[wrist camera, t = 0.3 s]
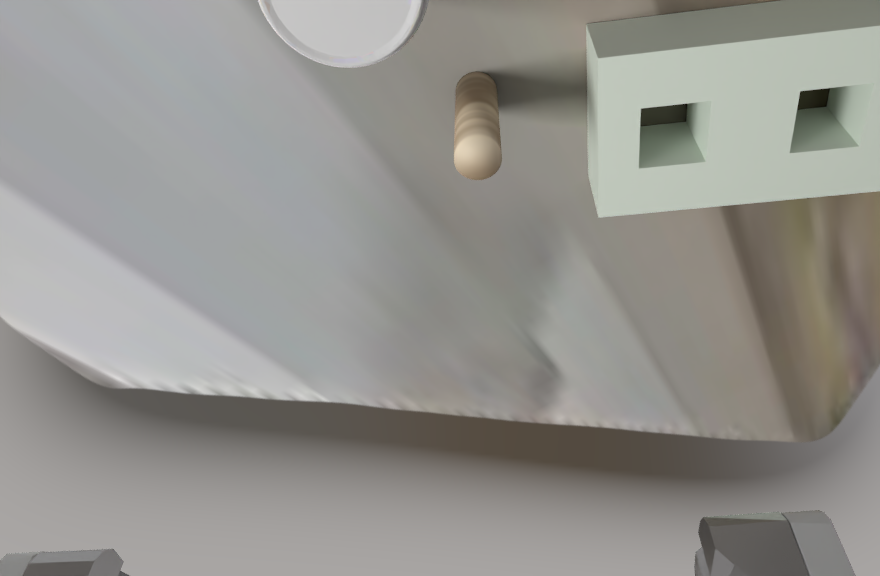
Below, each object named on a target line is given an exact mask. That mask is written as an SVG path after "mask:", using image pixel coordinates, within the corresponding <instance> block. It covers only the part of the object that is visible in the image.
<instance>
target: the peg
mask: <svg viewBox="0 0 880 576" xmlns="http://www.w3.org/2000/svg"><path fill="white" fill-rule="evenodd" d="M501 162H502V154H501V140H500V126H499V112H498V99H497V87H496V84H495V82H494V80H493V79H492V78H491V77H490V76H489V75H487V74H485V73H482V72H471V73H468V74H466V75H465V76H463V77H462V78H461V79H460V80H459V82H458V84H457V86H456V103H455V141H454V163H455V166H456V168H457V170H458V171H459V173H460V174H462V175H463V176H464V177H466V178H469V179H472V180H483V179H486V178H489V177H491V176H492V175H494V174H495V173H496V172H497V171H498V169H499V168H500V165H501Z"/></svg>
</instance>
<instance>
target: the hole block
mask: <svg viewBox="0 0 880 576" xmlns="http://www.w3.org/2000/svg"><path fill="white" fill-rule="evenodd" d="M586 42H587V119H588V176H589V180H590V184H591V189H592V193H593V197H594V201H595V205H596V209H597V213H598V218H600V217H610V216H621V215H631V214H642V213H653V212H663V211H674V210H684V209H695V208H706V207H716V206H727V205H737V204H748V203H759V202H769V201H780V200H790V199H801V198H811V197H822V196H833V195H843V194H854V193H864V192H875V191H880V0H780V1H772V2H764V3H755V4H747V5H739V6H731V7H722V8H714V9H706V10H698V11H689V12H681V13H673V14H665V15H656V16H648V17H640V18H632V19H623V20H615V21H607V22H599V23H590V24H586ZM826 88H830V91H829V96H828V101H827V106H826V107H819V108H810V109H800V110H797V107H798V102H799V96H800V91H807V90H817V89H826ZM679 104H687V117H686V122H678V123H668V124H659V125H650V126H640V118H641V109H642V108H651V107H660V106H669V105H679Z"/></svg>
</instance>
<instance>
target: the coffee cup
mask: <svg viewBox="0 0 880 576" xmlns="http://www.w3.org/2000/svg"><path fill="white" fill-rule="evenodd" d="M258 2H259V5H260V7H261V9H262V11H263V13H264V15H265V17H266V19H267V20H268V22H269V23H270V25H271V26H272V28H273V29H274V30H275V31H276V33H277V34H278V35H279V36H280V37H281V38H282V39H283V40H284V41H285V42H286V43H287V44H288V45H289V46H291V47H292V48H293V49H294V50H296V51H297V52H299V53H300V54H302V55H304V56H306V57H307V58H309V59H312V60H314V61H316V62H319V63H322V64H325V65H329V66H334V67H342V68H355V67H363V66H368V65H372V64H375V63H378V62H380V61H383V60H385V59H387V58H388V57H390V56H392V55H394V54H395V53H396V52H398V51H399V50H400V49H401V48H402V47H404V46H405V45H406V44H407V43H408V42H409V40H410V39H411V38H412V37H413V35H414V34H415V33H416V31H417V30H418V28H419V26H420V24H421V22H422V20H423V18H424V15H425V13H426V9H427V6H428V2H429V0H258Z"/></svg>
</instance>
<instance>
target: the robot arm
mask: <svg viewBox="0 0 880 576" xmlns="http://www.w3.org/2000/svg"><path fill="white" fill-rule="evenodd" d="M698 533H699V537H700V541H701V544H702V547H701V548H700V549H699V550H698V551H696V555H695V566H694V567H695V576H856V575H855V573H854V571H853V569H852V566H851V564H850V562H849V560H848V557H847V555H846V553H845V550H844V548H843V546H842V544H841V541H840V539H839V537H838V535H837V532H836V530H835V528H834V525H833V523H832V521H831V519H830V518H829V517H828V516H827V515H826V514H825V513H824V512H822V511H819V510H818V511H817V510H816V511H801V512H786V513H779V512H771V513H757V514H743V515H730V516H729V515H728V516H714V517H703V518H702V519H701V521H700V525H699V532H698ZM122 564H123V560H122V559H121V558H120V557H119V555H118V554H117V553H116V552H115V550H114V549H102V550H83V551H82V550H81V551H61V552H29V553H15V554H6V555H5V556H4V557H3V558H2V559H1V560H0V576H129V575H127V574H125V573H123V572H122V571H120V570H121V567H122Z"/></svg>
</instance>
